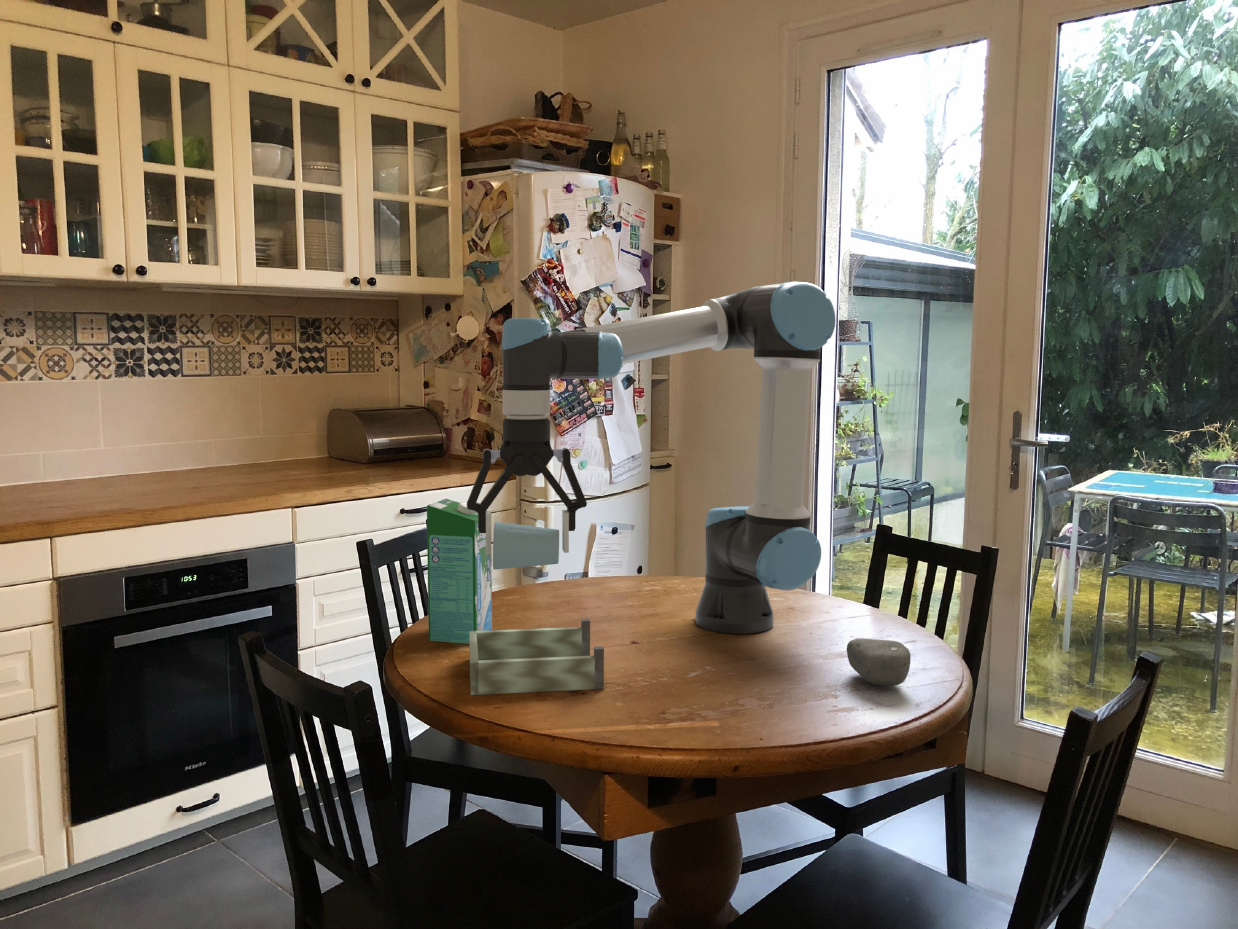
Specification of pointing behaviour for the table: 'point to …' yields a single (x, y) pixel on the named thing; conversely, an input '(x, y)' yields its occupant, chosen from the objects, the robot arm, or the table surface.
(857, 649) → the stone
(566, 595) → the table surface
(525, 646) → the bay
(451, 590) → the milk carton
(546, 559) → the cup
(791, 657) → the table surface
